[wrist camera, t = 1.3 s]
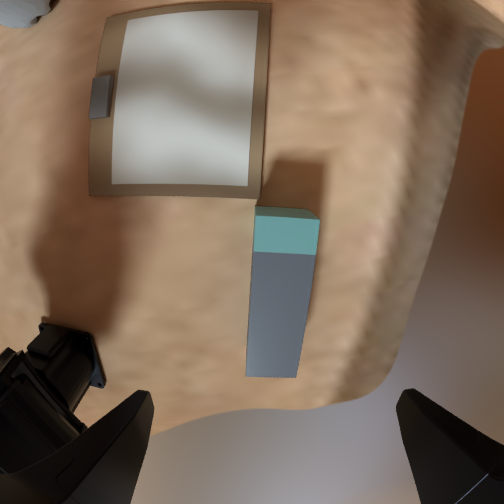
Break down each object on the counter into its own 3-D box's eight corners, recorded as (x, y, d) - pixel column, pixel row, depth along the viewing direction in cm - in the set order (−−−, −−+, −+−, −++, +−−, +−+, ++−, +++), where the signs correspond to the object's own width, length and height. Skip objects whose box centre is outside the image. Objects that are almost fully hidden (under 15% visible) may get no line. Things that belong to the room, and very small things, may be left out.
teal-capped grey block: (290, 348, 22) (296, 377, 19) (246, 347, 22) (245, 376, 19) (308, 209, 19) (320, 219, 16) (255, 205, 19) (255, 215, 16)
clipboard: (259, 198, 19) (259, 200, 18) (92, 195, 19) (84, 197, 17) (270, 6, 14) (271, -1, 13) (109, 20, 14) (103, 15, 13)
